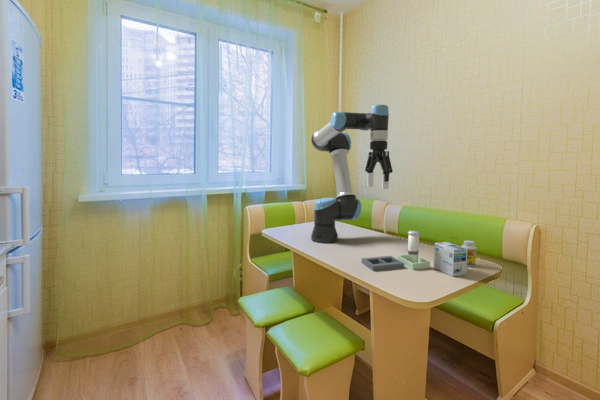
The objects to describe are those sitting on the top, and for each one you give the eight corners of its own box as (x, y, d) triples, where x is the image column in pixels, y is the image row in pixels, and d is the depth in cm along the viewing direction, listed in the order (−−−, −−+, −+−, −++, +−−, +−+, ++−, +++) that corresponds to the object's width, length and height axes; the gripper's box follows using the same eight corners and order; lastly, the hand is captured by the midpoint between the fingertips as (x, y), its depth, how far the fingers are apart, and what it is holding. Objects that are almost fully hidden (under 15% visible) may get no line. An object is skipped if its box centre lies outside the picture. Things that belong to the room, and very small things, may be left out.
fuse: (405, 263, 127) (406, 231, 125) (414, 262, 128) (415, 230, 126) (411, 266, 122) (412, 233, 121) (420, 265, 123) (421, 232, 122)
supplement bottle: (457, 264, 126) (459, 241, 125) (463, 261, 130) (464, 238, 129) (472, 267, 122) (474, 243, 121) (477, 264, 126) (478, 241, 124)
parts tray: (396, 262, 129) (397, 255, 129) (412, 260, 131) (413, 254, 131) (412, 270, 119) (412, 263, 118) (429, 269, 121) (429, 262, 120)
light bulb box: (466, 275, 114) (468, 248, 113) (452, 277, 112) (454, 249, 111) (445, 266, 124) (447, 241, 123) (432, 267, 123) (434, 242, 121)
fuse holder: (361, 263, 127) (361, 258, 127) (390, 260, 131) (390, 255, 130) (372, 272, 118) (373, 266, 117) (403, 268, 121) (404, 263, 121)
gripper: (358, 142, 144) (357, 185, 147) (386, 138, 120) (384, 190, 123) (372, 142, 146) (371, 185, 149) (402, 138, 122) (400, 189, 125)
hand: (377, 187), depth 136 cm, fingers open, 13 cm apart
